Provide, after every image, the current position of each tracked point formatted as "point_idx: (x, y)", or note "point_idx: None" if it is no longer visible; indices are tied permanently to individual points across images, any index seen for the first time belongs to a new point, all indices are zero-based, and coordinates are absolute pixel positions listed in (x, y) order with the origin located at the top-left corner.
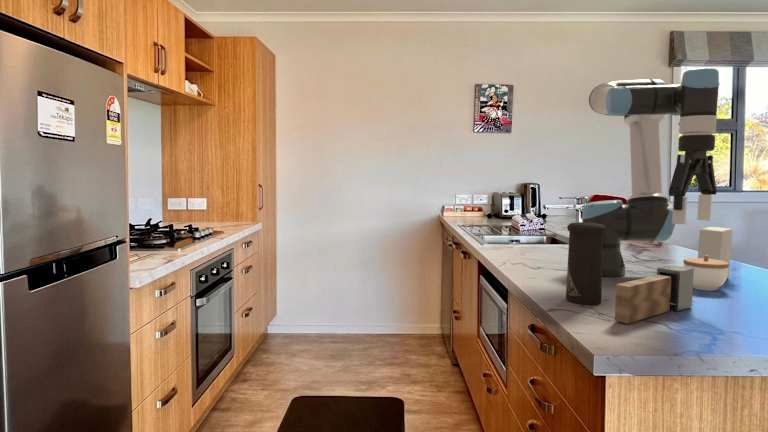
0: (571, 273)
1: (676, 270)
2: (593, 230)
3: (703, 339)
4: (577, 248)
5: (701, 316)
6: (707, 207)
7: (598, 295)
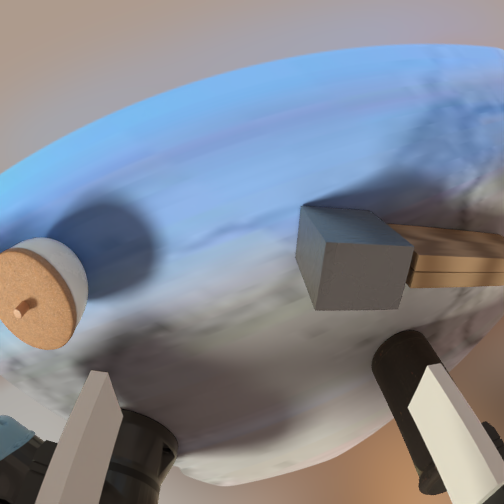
0: None
1: (404, 259)
2: None
3: (497, 121)
4: None
5: (365, 161)
6: (86, 447)
7: (417, 340)
